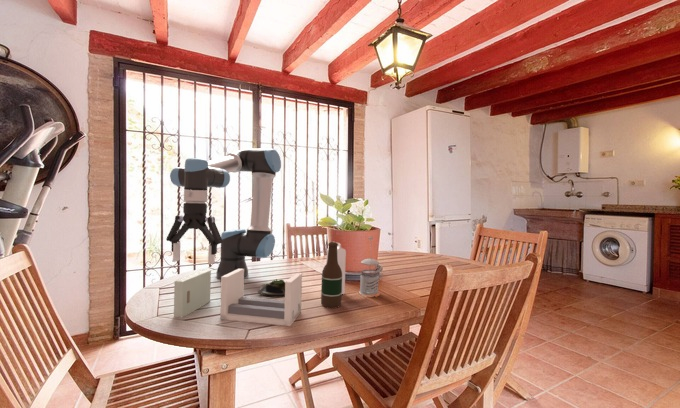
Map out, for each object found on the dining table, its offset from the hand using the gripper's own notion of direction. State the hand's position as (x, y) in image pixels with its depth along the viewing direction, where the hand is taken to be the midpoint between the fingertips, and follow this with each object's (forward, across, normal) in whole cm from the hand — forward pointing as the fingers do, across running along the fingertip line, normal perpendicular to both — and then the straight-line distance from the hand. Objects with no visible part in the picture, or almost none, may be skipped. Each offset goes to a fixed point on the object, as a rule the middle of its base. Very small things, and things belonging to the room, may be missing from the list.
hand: (193, 262), depth 108 cm
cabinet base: (+17, +26, 0) cm, 31 cm away
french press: (+16, +61, +34) cm, 72 cm away
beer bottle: (+17, +47, +16) cm, 53 cm away
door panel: (+17, 0, 0) cm, 17 cm away
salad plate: (+17, +22, +28) cm, 39 cm away
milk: (+16, +46, +30) cm, 58 cm away
